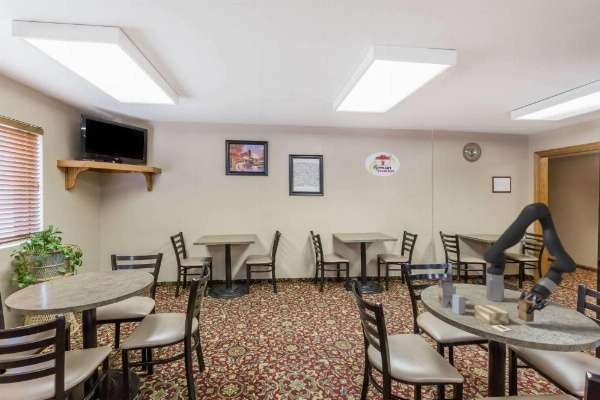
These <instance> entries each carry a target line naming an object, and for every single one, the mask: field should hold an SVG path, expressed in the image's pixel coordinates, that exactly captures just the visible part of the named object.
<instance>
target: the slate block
mask: <svg viewBox="0 0 600 400" xmlns="http://www.w3.org/2000/svg"><path fill="white" fill-rule="evenodd" d="M451 311H452V312H453V313H454V314H457V315H459V316H460V315H465V313H466V296H465V295H462V294H459V293H456V294H454V295H453V304H452V310H451Z"/></svg>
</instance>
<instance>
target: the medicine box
mask: <svg viewBox="0 0 600 400" xmlns="http://www.w3.org/2000/svg"><path fill="white" fill-rule="evenodd" d="M454 294H457V286H456V285H455V284H453V295H454Z"/></svg>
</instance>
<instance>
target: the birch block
mask: <svg viewBox="0 0 600 400" xmlns="http://www.w3.org/2000/svg"><path fill="white" fill-rule="evenodd" d="M509 316H510V315H509V312H508V311H506V310H503V309H502V308H499V307H497V306H495V305H493V304H492V305H491V304H483V305H482V304H481V305H474V317H477V318H478V319H479V320H480V321H483V322H485V323H486V324H488V325H504V324H505V325H508V324H510V323H509V318H510V317H509Z"/></svg>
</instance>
